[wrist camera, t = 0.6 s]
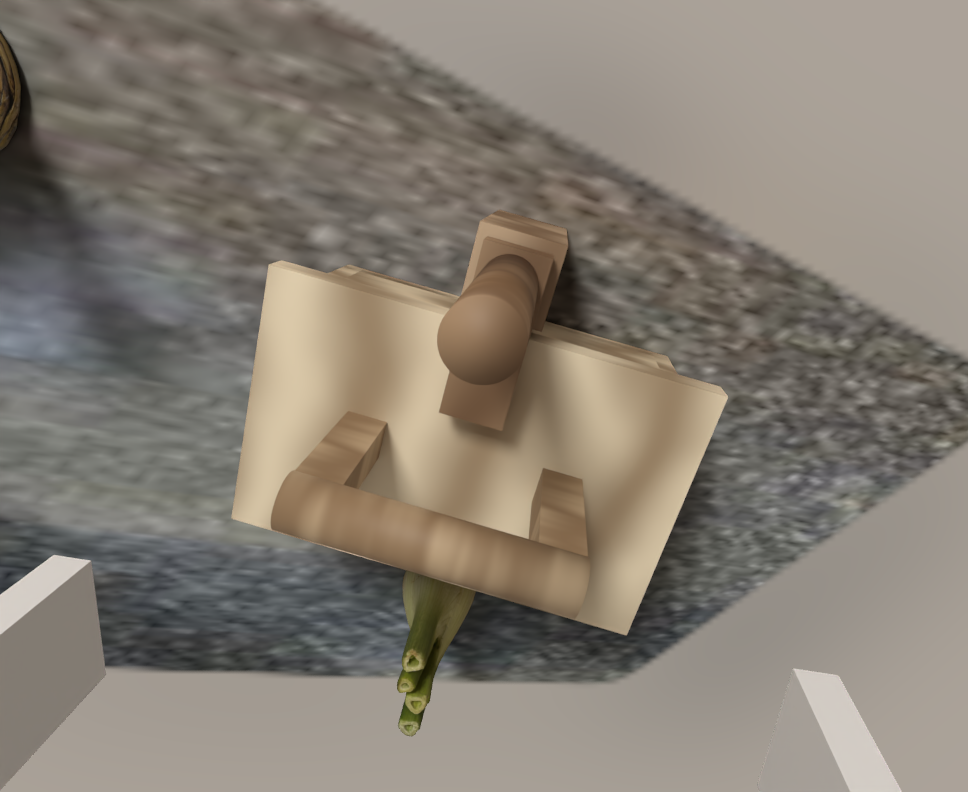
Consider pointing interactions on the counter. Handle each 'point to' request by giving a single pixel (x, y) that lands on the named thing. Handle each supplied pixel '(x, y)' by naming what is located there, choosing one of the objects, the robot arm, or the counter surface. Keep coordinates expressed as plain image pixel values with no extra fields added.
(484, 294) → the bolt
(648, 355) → the toolbox
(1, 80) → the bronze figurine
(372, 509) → the lid
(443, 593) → the fennel bulb
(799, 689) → the robot arm
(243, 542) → the counter surface
